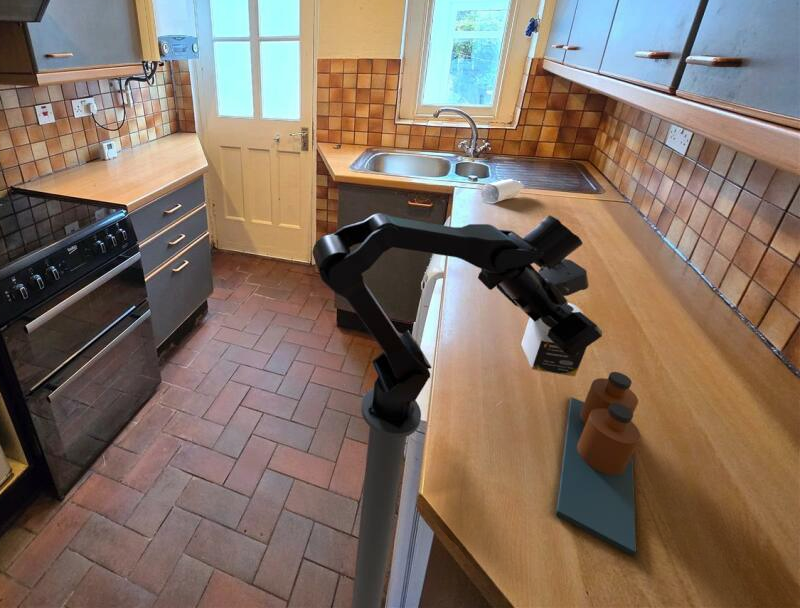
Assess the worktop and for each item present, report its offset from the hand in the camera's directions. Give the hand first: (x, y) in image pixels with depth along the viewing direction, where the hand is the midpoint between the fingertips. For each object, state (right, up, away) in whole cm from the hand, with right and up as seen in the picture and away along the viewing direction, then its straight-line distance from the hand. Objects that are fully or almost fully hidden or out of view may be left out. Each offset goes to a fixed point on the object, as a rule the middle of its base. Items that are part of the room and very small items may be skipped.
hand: (564, 331), depth 73 cm
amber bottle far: (+3, -14, -5) cm, 15 cm away
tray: (-2, -18, -10) cm, 21 cm away
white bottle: (+38, +30, +94) cm, 106 cm away
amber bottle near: (-1, -17, -10) cm, 20 cm away
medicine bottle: (-1, -6, +3) cm, 7 cm away
